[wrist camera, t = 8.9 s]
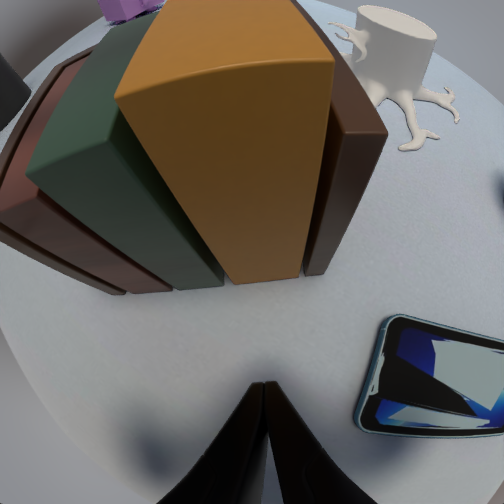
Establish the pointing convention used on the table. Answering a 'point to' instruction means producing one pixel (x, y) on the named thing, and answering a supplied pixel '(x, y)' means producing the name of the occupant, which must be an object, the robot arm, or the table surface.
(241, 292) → the table surface
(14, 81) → the vase
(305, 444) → the robot arm
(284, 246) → the ochre book
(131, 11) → the teapot
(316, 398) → the table surface
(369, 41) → the tree stump
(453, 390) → the smartphone
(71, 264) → the bookshelf
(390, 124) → the table surface
